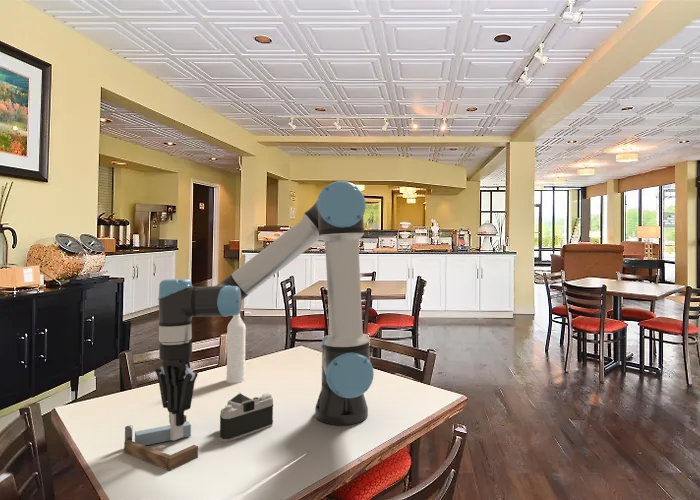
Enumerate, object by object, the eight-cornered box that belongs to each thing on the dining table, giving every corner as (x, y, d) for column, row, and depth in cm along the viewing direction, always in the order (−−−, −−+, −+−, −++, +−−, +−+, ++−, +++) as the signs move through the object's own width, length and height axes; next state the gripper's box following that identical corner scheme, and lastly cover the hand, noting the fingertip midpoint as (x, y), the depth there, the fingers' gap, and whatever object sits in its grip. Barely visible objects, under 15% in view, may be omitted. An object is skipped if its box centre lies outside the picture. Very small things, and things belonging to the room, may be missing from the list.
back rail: (171, 467, 97) (172, 455, 97) (167, 469, 96) (167, 458, 96) (129, 450, 105) (129, 439, 105) (124, 452, 103) (124, 441, 104)
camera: (258, 417, 127) (259, 382, 127) (278, 425, 121) (278, 388, 121) (208, 434, 115) (208, 395, 115) (227, 443, 109) (227, 402, 109)
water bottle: (230, 386, 156) (231, 314, 157) (223, 381, 162) (224, 312, 162) (253, 382, 162) (254, 312, 162) (246, 377, 167) (247, 310, 167)
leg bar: (136, 447, 106) (136, 435, 106) (134, 443, 108) (134, 431, 108) (190, 435, 113) (190, 424, 113) (188, 432, 115) (188, 421, 115)
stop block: (186, 426, 119) (186, 415, 119) (181, 428, 118) (181, 417, 118) (182, 425, 120) (182, 414, 120) (177, 427, 119) (178, 416, 119)
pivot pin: (133, 447, 106) (133, 426, 106) (127, 450, 105) (127, 428, 105) (129, 445, 107) (129, 425, 107) (123, 448, 106) (123, 427, 106)
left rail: (197, 457, 102) (198, 446, 102) (169, 470, 95) (170, 458, 95) (193, 455, 102) (193, 444, 102) (165, 468, 96) (165, 457, 96)
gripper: (205, 341, 110) (207, 437, 110) (171, 337, 116) (172, 428, 116) (180, 346, 103) (181, 449, 103) (145, 342, 110) (146, 438, 110)
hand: (176, 438), depth 110 cm, fingers closed
